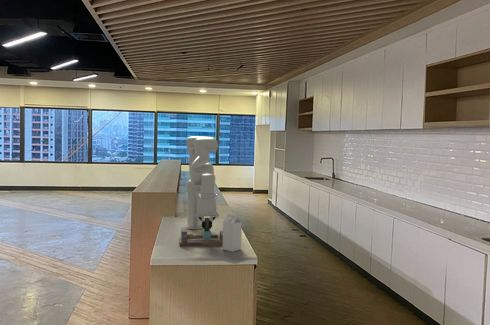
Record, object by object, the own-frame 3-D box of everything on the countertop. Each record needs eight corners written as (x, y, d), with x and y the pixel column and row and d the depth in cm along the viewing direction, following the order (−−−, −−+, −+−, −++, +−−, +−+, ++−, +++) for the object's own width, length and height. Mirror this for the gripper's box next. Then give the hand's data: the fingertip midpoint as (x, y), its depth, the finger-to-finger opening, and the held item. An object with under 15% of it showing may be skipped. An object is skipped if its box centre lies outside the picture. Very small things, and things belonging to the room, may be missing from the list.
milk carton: (231, 247, 242) (231, 212, 240) (241, 249, 237) (241, 214, 236) (222, 249, 236) (223, 214, 235) (232, 252, 232) (233, 216, 231)
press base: (179, 241, 252) (179, 227, 251) (222, 240, 256) (223, 226, 255) (179, 246, 240) (179, 231, 240) (225, 245, 244) (225, 231, 244)
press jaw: (202, 237, 251) (203, 217, 251) (209, 237, 252) (210, 217, 251) (203, 240, 245) (203, 219, 244) (210, 240, 245) (211, 219, 244)
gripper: (221, 195, 252) (220, 226, 253) (192, 194, 249) (191, 227, 250) (222, 196, 244) (222, 229, 246) (193, 196, 242) (192, 230, 243)
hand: (206, 228), depth 248 cm, fingers closed on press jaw, 3 cm apart
